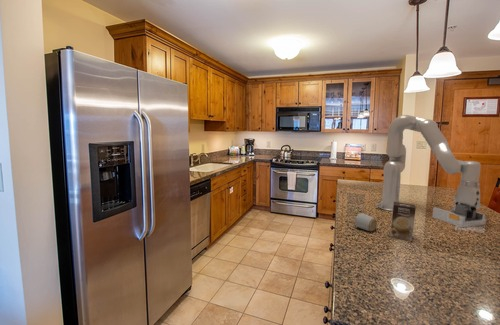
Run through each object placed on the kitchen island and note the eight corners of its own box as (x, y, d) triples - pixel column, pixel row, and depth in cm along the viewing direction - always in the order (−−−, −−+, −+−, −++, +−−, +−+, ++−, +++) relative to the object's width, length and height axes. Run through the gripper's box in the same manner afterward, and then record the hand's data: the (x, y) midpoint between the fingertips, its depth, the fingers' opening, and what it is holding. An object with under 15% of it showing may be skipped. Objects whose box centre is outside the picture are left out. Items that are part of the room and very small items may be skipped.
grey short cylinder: (369, 233, 127) (370, 218, 126) (354, 228, 133) (355, 214, 133) (380, 229, 133) (381, 215, 132) (365, 224, 140) (366, 210, 139)
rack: (461, 227, 137) (462, 216, 136) (432, 217, 152) (433, 207, 152) (483, 224, 141) (485, 214, 140) (452, 215, 157) (453, 205, 156)
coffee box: (389, 237, 123) (392, 204, 121) (390, 232, 129) (393, 201, 127) (412, 241, 119) (415, 207, 116) (412, 236, 124) (415, 204, 122)
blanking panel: (461, 221, 140) (463, 206, 139) (453, 218, 144) (455, 204, 143) (475, 219, 142) (477, 205, 141) (467, 217, 146) (468, 203, 145)
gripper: (491, 187, 133) (486, 221, 136) (458, 180, 149) (454, 211, 152) (481, 187, 131) (476, 222, 134) (448, 181, 147) (444, 212, 150)
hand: (464, 216), depth 143 cm, fingers closed on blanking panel, 4 cm apart
